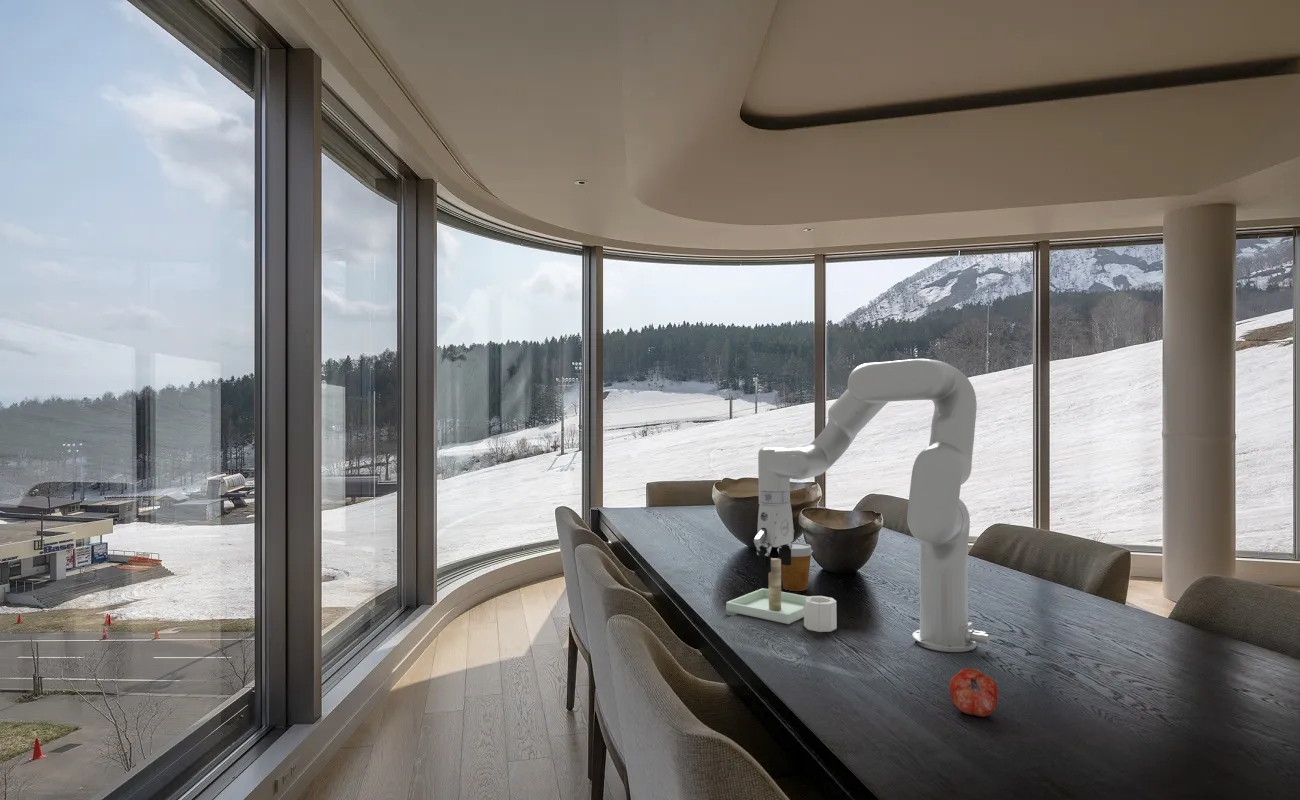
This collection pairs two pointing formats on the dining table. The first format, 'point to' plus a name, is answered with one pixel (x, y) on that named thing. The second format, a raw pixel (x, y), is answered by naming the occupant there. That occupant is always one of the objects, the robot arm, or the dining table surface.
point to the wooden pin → (775, 585)
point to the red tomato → (973, 692)
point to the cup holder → (820, 613)
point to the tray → (759, 606)
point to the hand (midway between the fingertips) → (775, 568)
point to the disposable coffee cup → (797, 568)
